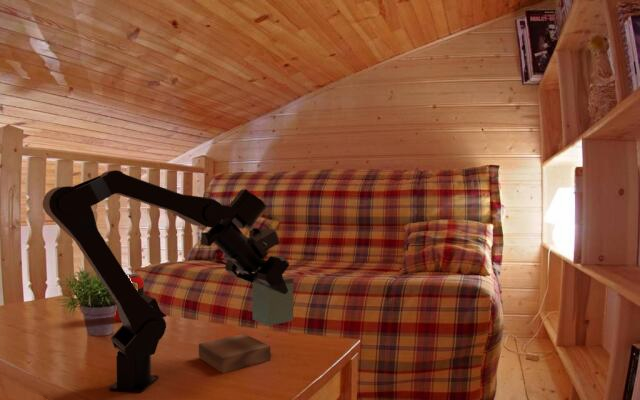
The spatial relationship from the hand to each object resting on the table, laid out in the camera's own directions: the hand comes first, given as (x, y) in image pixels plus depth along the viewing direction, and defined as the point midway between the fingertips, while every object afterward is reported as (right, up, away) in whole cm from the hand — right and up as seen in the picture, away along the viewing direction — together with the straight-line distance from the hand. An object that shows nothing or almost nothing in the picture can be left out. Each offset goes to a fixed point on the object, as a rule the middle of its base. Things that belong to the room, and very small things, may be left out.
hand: (277, 289), depth 105 cm
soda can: (-44, -13, +25) cm, 53 cm away
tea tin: (-1, -7, -1) cm, 7 cm away
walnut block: (-9, -13, -7) cm, 17 cm away
